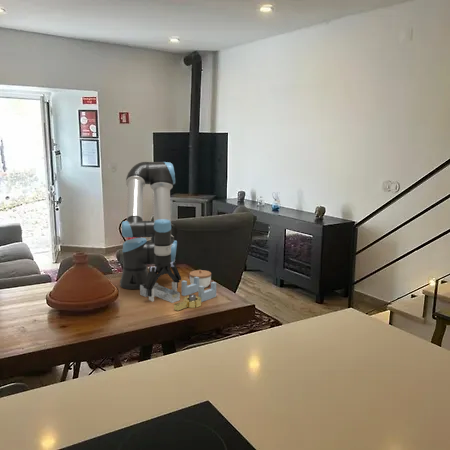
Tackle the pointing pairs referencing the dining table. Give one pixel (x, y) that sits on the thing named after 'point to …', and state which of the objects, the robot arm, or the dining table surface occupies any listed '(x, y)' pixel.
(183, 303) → the gold box wrench
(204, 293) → the rack
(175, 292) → the white t-shaped plate
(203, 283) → the lidded jar
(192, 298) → the nut base
